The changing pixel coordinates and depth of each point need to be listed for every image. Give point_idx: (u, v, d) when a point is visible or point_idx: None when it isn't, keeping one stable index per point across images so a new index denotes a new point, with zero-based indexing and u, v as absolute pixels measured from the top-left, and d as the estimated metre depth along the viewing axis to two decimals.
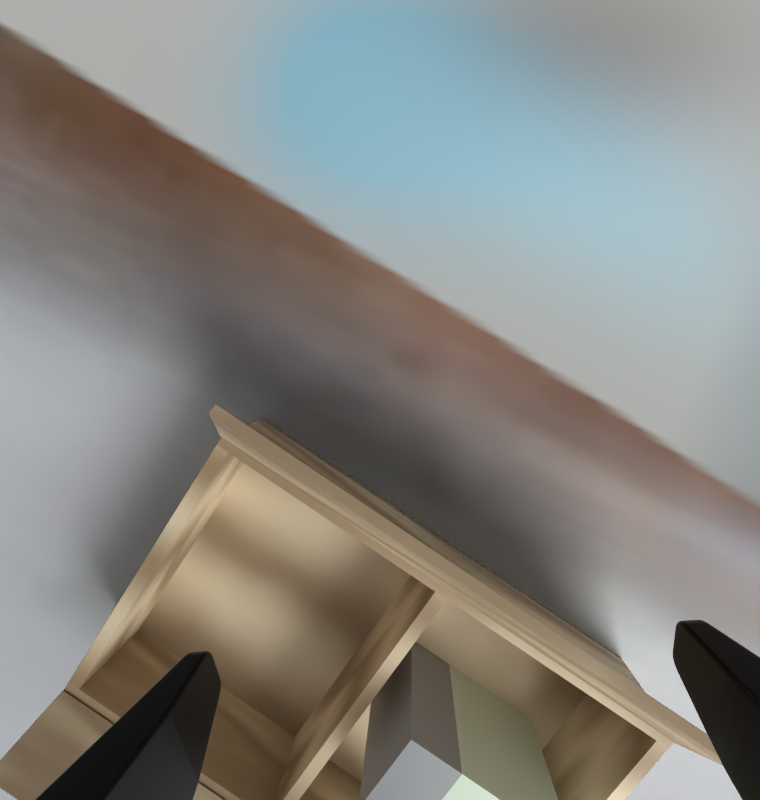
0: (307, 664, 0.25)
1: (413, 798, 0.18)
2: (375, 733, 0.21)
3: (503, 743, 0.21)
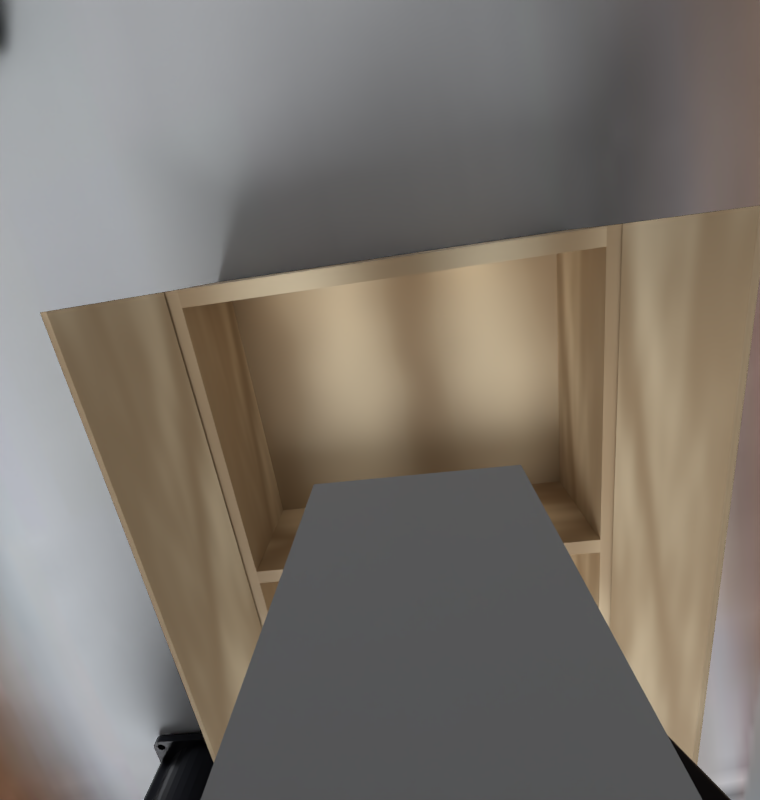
0: (357, 470, 0.22)
1: None
2: (333, 630, 0.05)
3: None
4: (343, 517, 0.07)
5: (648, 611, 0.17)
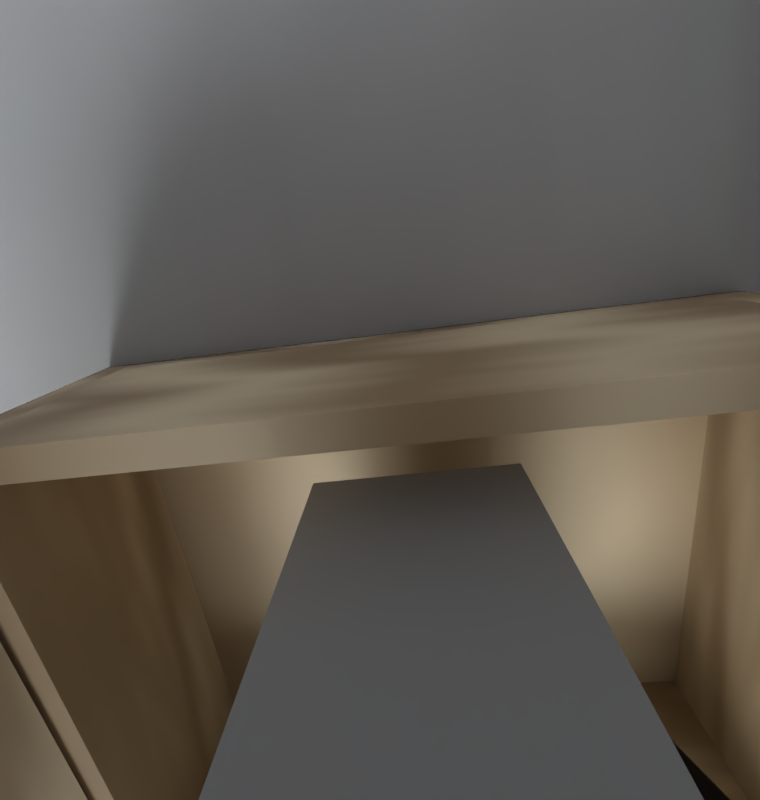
0: None
1: None
2: (332, 628, 0.05)
3: None
4: (343, 516, 0.07)
5: None
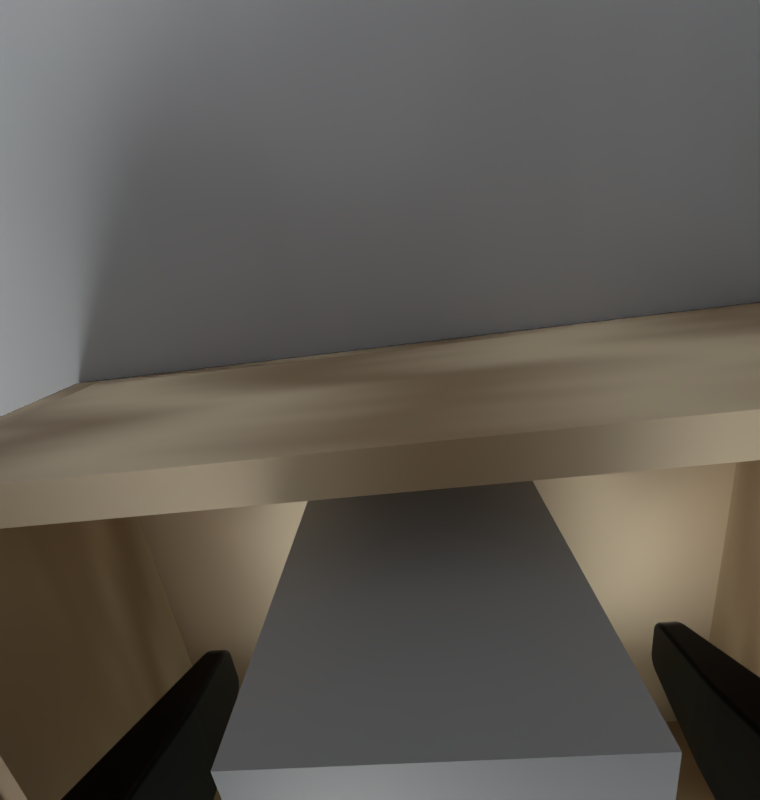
0: None
1: None
2: (348, 546, 0.07)
3: None
4: None
5: None
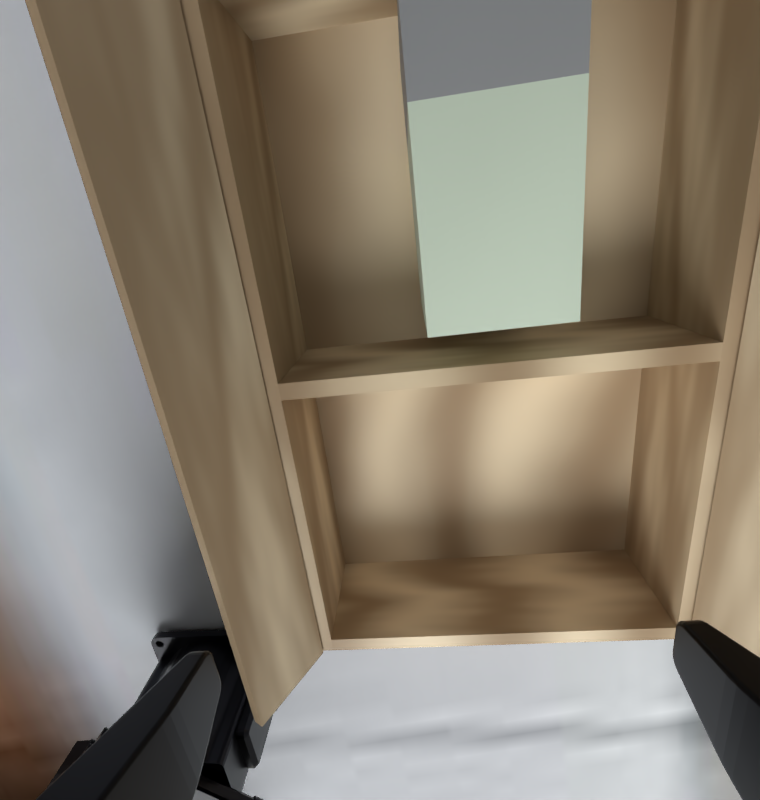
0: (399, 296, 0.18)
1: (489, 36, 0.10)
2: None
3: None
4: None
5: None
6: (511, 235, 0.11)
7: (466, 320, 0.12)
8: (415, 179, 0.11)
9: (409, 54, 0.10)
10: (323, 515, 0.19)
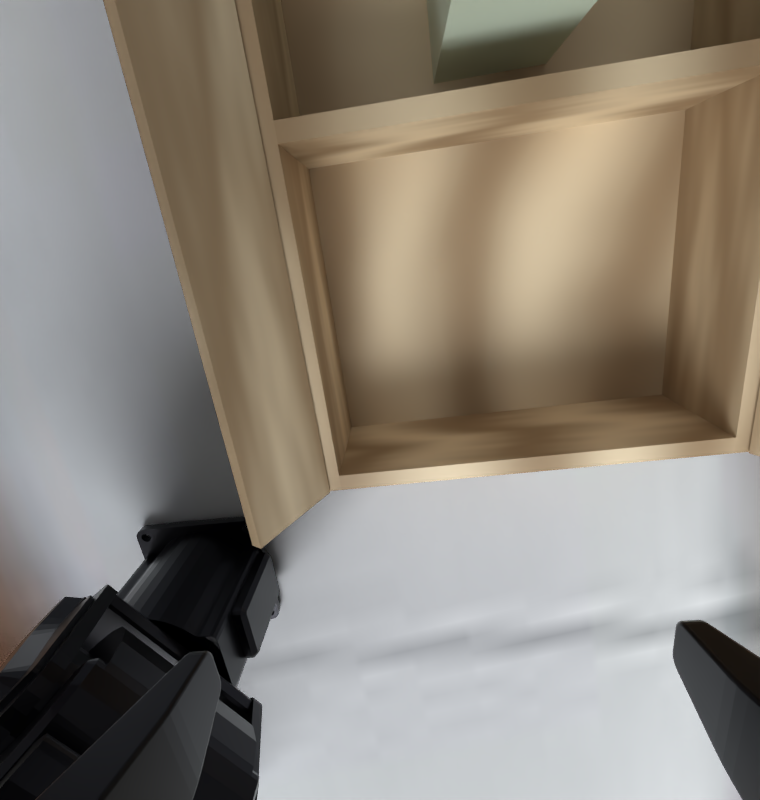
0: (409, 78, 0.16)
1: None
2: None
3: None
4: None
5: None
6: None
7: None
8: None
9: None
10: (327, 340, 0.17)
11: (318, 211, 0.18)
